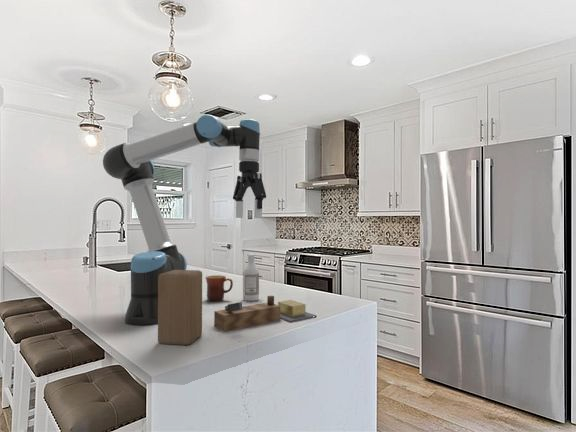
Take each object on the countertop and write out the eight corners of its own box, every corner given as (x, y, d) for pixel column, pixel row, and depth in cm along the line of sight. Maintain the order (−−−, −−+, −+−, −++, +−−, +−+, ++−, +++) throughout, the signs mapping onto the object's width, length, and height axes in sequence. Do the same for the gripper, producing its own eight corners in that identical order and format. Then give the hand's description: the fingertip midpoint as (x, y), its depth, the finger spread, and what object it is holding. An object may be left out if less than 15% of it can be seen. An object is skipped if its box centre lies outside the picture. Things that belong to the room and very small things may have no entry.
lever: (225, 312, 122) (238, 310, 115) (224, 305, 123) (237, 302, 116) (230, 311, 123) (244, 309, 116) (229, 304, 124) (243, 301, 117)
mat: (290, 322, 128) (290, 320, 128) (267, 314, 139) (267, 312, 139) (316, 317, 135) (316, 315, 135) (292, 309, 146) (292, 307, 146)
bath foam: (261, 300, 162) (261, 254, 162) (246, 302, 159) (247, 255, 159) (254, 297, 168) (255, 253, 168) (240, 298, 165) (240, 254, 165)
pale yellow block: (292, 317, 131) (292, 306, 132) (277, 312, 139) (277, 301, 139) (305, 315, 135) (305, 304, 135) (290, 310, 142) (290, 299, 142)
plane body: (224, 331, 117) (224, 306, 117) (214, 326, 123) (214, 302, 123) (280, 320, 131) (280, 297, 131) (269, 315, 136) (269, 294, 136)
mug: (202, 302, 158) (202, 278, 158) (208, 297, 167) (209, 275, 167) (230, 302, 157) (230, 278, 157) (235, 298, 166) (235, 275, 166)
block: (156, 344, 105) (156, 274, 105) (172, 333, 115) (172, 269, 115) (189, 346, 104) (189, 274, 104) (203, 335, 113) (203, 270, 114)
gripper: (276, 158, 132) (275, 218, 132) (241, 166, 152) (240, 217, 152) (258, 156, 127) (257, 218, 127) (224, 164, 147) (223, 217, 147)
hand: (248, 218), depth 139 cm, fingers open, 13 cm apart
